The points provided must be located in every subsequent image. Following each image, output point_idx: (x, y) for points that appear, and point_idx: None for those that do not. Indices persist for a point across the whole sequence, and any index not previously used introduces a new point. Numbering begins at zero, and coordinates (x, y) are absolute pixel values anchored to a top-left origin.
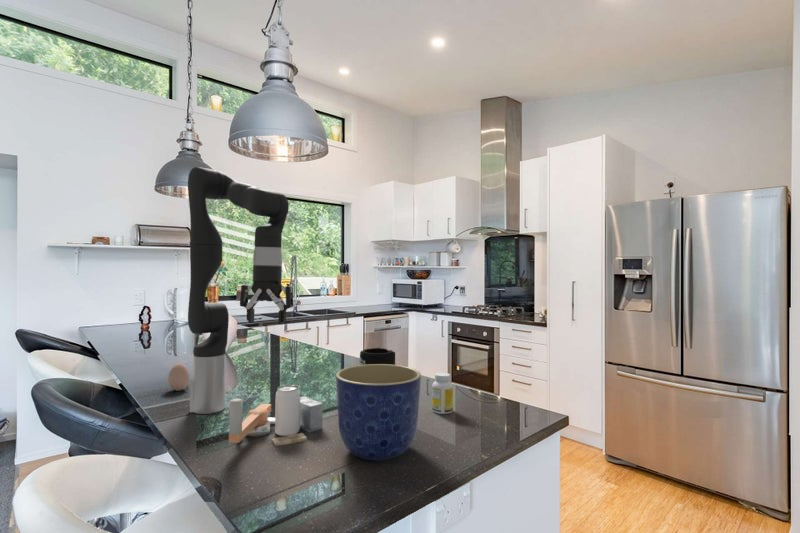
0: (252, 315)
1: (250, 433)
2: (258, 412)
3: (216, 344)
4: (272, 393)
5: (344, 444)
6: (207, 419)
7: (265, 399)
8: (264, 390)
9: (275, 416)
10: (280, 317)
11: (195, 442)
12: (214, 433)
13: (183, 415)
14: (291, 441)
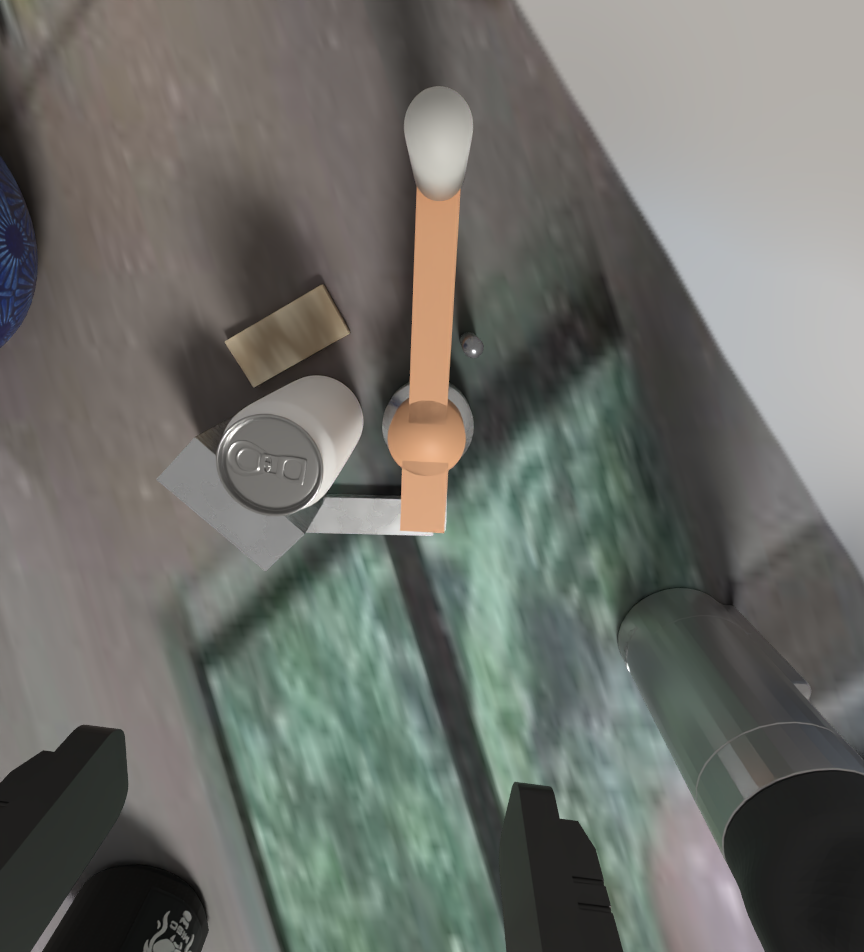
0: (519, 915)
1: None
2: (421, 427)
3: (809, 868)
4: (488, 787)
5: (7, 167)
6: (648, 541)
7: (496, 730)
8: None
9: (347, 411)
10: (22, 802)
11: (624, 322)
12: (581, 408)
13: (748, 580)
14: (273, 314)
